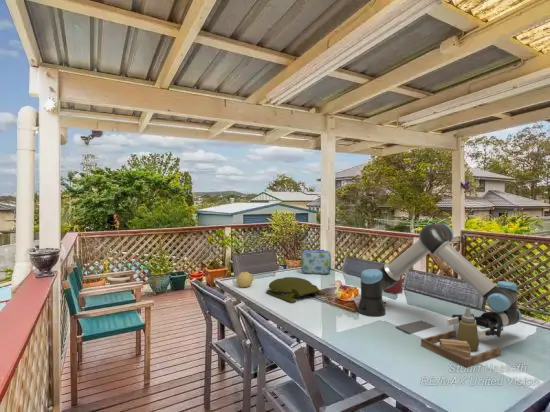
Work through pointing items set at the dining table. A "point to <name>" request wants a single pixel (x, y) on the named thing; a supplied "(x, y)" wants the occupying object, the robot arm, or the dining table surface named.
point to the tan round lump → (244, 279)
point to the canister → (396, 287)
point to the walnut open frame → (454, 357)
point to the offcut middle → (459, 352)
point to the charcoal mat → (414, 327)
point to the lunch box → (316, 262)
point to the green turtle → (292, 288)
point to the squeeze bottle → (468, 330)
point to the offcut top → (454, 344)
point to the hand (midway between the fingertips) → (462, 328)
